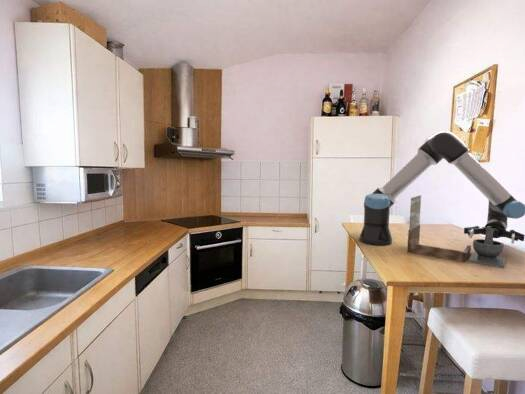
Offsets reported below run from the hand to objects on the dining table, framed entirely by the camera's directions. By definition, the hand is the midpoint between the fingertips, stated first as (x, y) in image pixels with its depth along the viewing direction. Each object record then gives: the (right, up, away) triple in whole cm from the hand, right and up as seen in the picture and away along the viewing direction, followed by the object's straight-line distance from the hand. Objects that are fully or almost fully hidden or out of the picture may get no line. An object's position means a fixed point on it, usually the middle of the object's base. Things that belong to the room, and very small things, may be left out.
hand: (490, 237), depth 120 cm
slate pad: (-2, -9, -1) cm, 10 cm away
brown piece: (-15, -8, +10) cm, 20 cm away
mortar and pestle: (-3, -9, -1) cm, 9 cm away
